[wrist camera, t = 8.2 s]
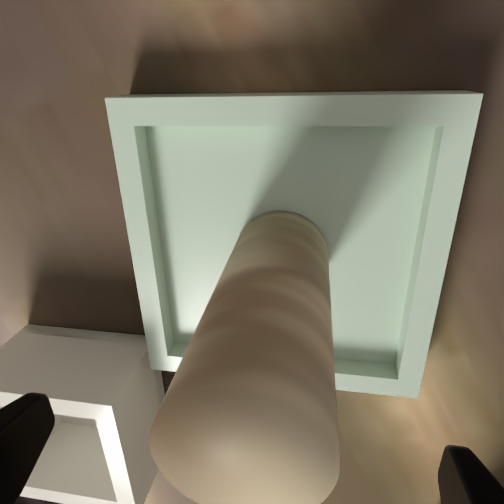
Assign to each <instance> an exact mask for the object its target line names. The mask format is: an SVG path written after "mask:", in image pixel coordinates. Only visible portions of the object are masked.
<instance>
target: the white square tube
mask: <svg viewBox="0 0 504 504" xmlns="http://www.w3.org/2000/svg"><path fill="white" fill-rule="evenodd" d="M30 392H35V393H43V394H46V395H47V396H48V398H49V401H50V404H51V407H52V410H53V413H54V416H55V425H54V428H53V430H52V432H51V434H50V436H49V438H48V440H47V442H46V445H45V447H44V449H43V451H42V453H41V455H40V457H39V459H38V461H37V463H36V465H35V467H34V469H33V471H32V473H31V475H30V477H29V479H28V481H27V483H26V485H25V487H24V489H23V491H22V493H21V494H20V496H23V497H28V498H34V499H39V500H45V501H51V502H56V503H62V504H144V502H145V499H146V497H147V494H148V492H149V490H150V487H151V485H152V483H153V480H154V478H155V475H156V473H157V471H158V467H157V465H156V463H155V461H154V459H153V457H152V453H151V450H150V443H149V435H150V429H151V425H152V422H153V420H154V418H155V416H156V414H157V412H158V409H159V407H160V405H161V403H162V401H163V399H164V396H165V392H164V386H163V379H162V373H161V370H154V369H151V366H150V361H149V355H148V349H147V343H146V337H145V335H136V334H125V333H115V332H104V331H94V330H84V329H73V328H63V327H52V326H42V325H31V324H27V325H26V326H25V327H24V328H23V329H22V330H20V331H19V332H18V333H17V334H16V335H15V336H13V337H12V338H11V339H10V340H9V341H8V342H6V343H5V344H4V345H3V346H2V347H1V348H0V409H1V408H2V407H4V406H6V405H8V404H9V403H11V402H13V401H14V400H16V399H18V398H20V397H21V396H23V395H25V394H27V393H30Z"/></svg>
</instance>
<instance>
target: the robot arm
mask: <svg viewBox="0 0 504 504" xmlns="http://www.w3.org/2000/svg"><path fill="white" fill-rule="evenodd" d="M54 425H55V416H54V413H53V410H52V407H51V404H50V401H49V398H48V396H47V395H46V394H43V393H35V392H30V393H27V394H25V395H23V396H21V397H20V398H18V399H16V400H14V401H13V402H11V403H9V404H8V405H6V406H4V407H2V408H1V409H0V504H15V503H16V501H17V500H18V498H19V496H20V494H21V493H22V491H23V489H24V487H25V485H26V483H27V481H28V479H29V477H30V475H31V473H32V471H33V469H34V467H35V465H36V463H37V461H38V459H39V457H40V455H41V453H42V451H43V449H44V447H45V445H46V442H47V440H48V438H49V436H50V434H51V432H52V430H53V428H54ZM438 484H439V490H440V497H441V503H442V504H504V488H503V486H502V485H501V484H500V483H499V482H498V481H497V480H496V478H495V477H494V476H493V475H492V474H491V473H490V471H489V470H488V469H487V468H486V467H485V466H484V465H483V463H482V462H481V461H480V460H479V459H478V458H477V456H476V455H475V454H474V453H473V452H472V451H471V450H470V449H469V448H467V447H462V446H455V445H447V446H446V447H445V449H444V452H443V456H442V459H441V463H440V467H439V470H438Z"/></svg>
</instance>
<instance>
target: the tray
mask: <svg viewBox="0 0 504 504" xmlns="http://www.w3.org/2000/svg"><path fill="white" fill-rule="evenodd" d="M482 98H483V94H482V93H477V92H471V91H466V90H435V91H356V92H278V93H200V94H128V95H122V96H115V97H108V98H105V103H106V109H107V114H108V120H109V126H110V132H111V138H112V144H113V150H114V155H115V161H116V167H117V173H118V179H119V185H120V191H121V196H122V202H123V208H124V214H125V220H126V226H127V232H128V237H129V243H130V249H131V255H132V261H133V267H134V273H135V279H136V284H137V290H138V296H139V302H140V308H141V314H142V320H143V325H144V331H145V337H146V343H147V349H148V355H149V361H150V366H151V369H154V370H163V371H172V372H176V371H177V369H178V366H179V364H180V362H181V360H182V358H183V356H184V354H185V351H186V349H187V347H188V345H189V343H190V341H191V338H192V336H193V334H194V332H195V330H196V328H197V326H198V323H199V321H200V319H201V317H202V315H203V313H204V311H205V308H206V306H207V304H208V302H209V300H210V298H211V296H212V293H213V291H214V289H215V287H216V285H217V283H218V280H219V278H220V276H221V274H222V272H223V270H224V268H225V265H226V263H227V261H228V259H229V257H230V255H231V253H232V250H233V248H234V246H235V244H236V242H237V240H238V238H239V235H240V233H241V231H242V230H243V229H244V227H245V226H246V225H247V224H248V223H249V222H250V221H251V220H252V219H254V218H255V217H257V216H259V215H261V214H263V213H267V212H270V211H281V210H282V211H290V212H295V213H297V214H300V215H302V216H304V217H306V218H308V219H309V220H311V221H312V222H313V223H314V224H315V225H316V226H317V227H318V228H319V229H320V231H321V232H322V234H323V236H324V238H325V240H326V243H327V248H328V261H329V279H330V297H331V315H332V333H333V351H334V369H335V387H336V390H344V391H353V392H362V393H371V394H380V395H389V396H398V397H407V398H416V399H418V395H419V391H420V386H421V381H422V377H423V372H424V367H425V363H426V358H427V353H428V349H429V344H430V339H431V335H432V330H433V325H434V321H435V316H436V312H437V307H438V302H439V298H440V293H441V288H442V284H443V279H444V274H445V270H446V265H447V260H448V256H449V251H450V246H451V242H452V237H453V233H454V228H455V223H456V219H457V214H458V209H459V205H460V200H461V195H462V191H463V186H464V181H465V177H466V172H467V167H468V163H469V158H470V154H471V149H472V144H473V140H474V135H475V130H476V126H477V121H478V116H479V112H480V107H481V102H482Z"/></svg>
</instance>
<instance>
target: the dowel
mask: <svg viewBox="0 0 504 504" xmlns="http://www.w3.org/2000/svg"><path fill="white" fill-rule="evenodd" d="M149 443H150V450H151V453H152V457H153V459H154V461H155V463H156V465H157V467H158V469H159V470H160V472H161V473H162V474H163V476H164V477H165V478H166V479H167V480H168V481H169V482H170V483H171V484H172V485H173V486H174V487H175V488H176V489H177V490H178V491H180V492H181V493H182V494H184V495H185V496H186V497H188V498H189V499H191V500H193V501H195V502H196V503H198V504H320V503H322V502H323V501H324V500H325V499H326V498H327V497H328V496H329V495H330V493H331V492H332V491H333V489H334V487H335V485H336V483H337V481H338V477H339V472H340V459H339V441H338V423H337V405H336V387H335V369H334V351H333V333H332V315H331V297H330V279H329V261H328V248H327V243H326V240H325V238H324V236H323V234H322V232H321V231H320V229H319V228H318V227H317V226H316V225H315V224H314V223H313V222H312V221H311V220H309V219H308V218H306V217H304V216H302V215H300V214H297V213H295V212H290V211H282V210H281V211H270V212H267V213H263V214H261V215H259V216H257V217H255V218H254V219H252V220H251V221H250V222H249V223H248V224H247V225H246V226H245V227H244V229H243V230H242V231H241V233H240V235H239V238H238V240H237V242H236V244H235V246H234V248H233V250H232V253H231V255H230V257H229V259H228V261H227V263H226V265H225V268H224V270H223V272H222V274H221V276H220V278H219V280H218V283H217V285H216V287H215V289H214V291H213V293H212V296H211V298H210V300H209V302H208V304H207V306H206V308H205V311H204V313H203V315H202V317H201V319H200V321H199V323H198V326H197V328H196V330H195V332H194V334H193V336H192V338H191V341H190V343H189V345H188V347H187V349H186V351H185V354H184V356H183V358H182V360H181V362H180V364H179V366H178V369H177V371H176V373H175V375H174V377H173V379H172V381H171V384H170V386H169V388H168V390H167V392H166V394H165V396H164V399H163V401H162V403H161V405H160V407H159V409H158V412H157V414H156V416H155V418H154V420H153V422H152V425H151V429H150V435H149Z"/></svg>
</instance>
